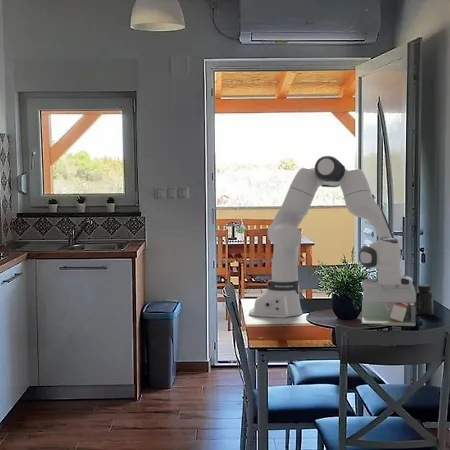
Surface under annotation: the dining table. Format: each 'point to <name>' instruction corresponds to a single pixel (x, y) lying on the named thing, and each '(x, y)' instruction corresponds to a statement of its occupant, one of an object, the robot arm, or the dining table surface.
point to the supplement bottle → (424, 301)
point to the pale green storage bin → (386, 315)
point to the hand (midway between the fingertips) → (389, 313)
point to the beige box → (398, 311)
